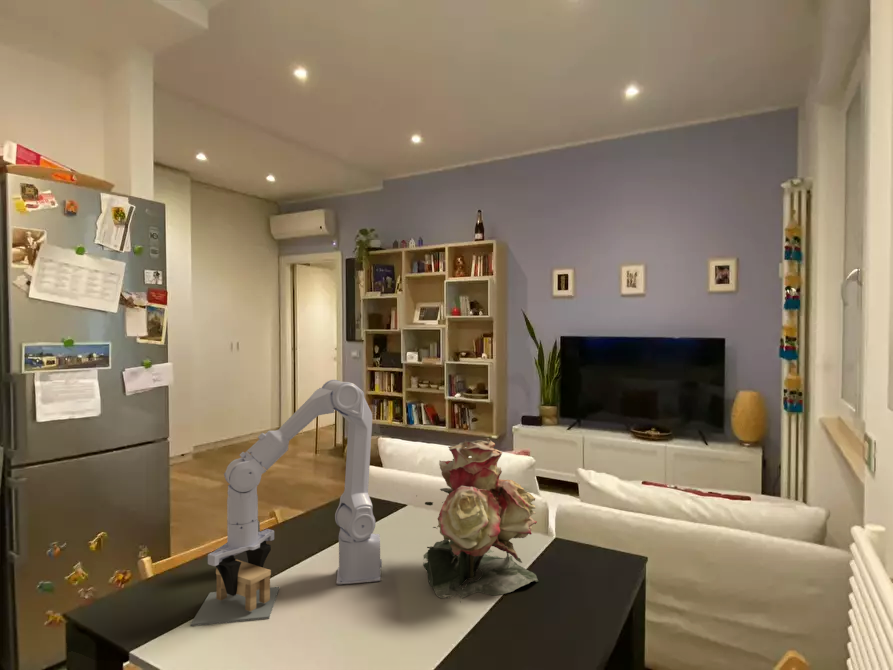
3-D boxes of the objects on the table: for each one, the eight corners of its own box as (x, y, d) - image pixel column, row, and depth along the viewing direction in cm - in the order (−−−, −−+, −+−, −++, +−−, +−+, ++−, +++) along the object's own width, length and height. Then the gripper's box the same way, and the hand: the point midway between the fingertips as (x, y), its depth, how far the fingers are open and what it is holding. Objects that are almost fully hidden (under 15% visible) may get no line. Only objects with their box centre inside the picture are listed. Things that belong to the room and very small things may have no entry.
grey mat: (279, 588, 109) (279, 586, 109) (269, 618, 97) (269, 616, 97) (209, 594, 107) (209, 592, 107) (190, 626, 95) (190, 623, 95)
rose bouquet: (439, 612, 99) (438, 457, 99) (415, 551, 128) (414, 431, 128) (561, 596, 105) (560, 450, 105) (512, 541, 133) (511, 426, 134)
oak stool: (215, 598, 102) (215, 568, 102) (236, 588, 107) (236, 559, 107) (250, 611, 98) (250, 580, 98) (270, 600, 102) (270, 570, 102)
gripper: (225, 535, 94) (225, 609, 94) (284, 511, 107) (285, 576, 107) (200, 529, 97) (200, 600, 97) (260, 506, 110) (261, 569, 110)
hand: (243, 587), depth 102 cm, fingers closed on oak stool, 5 cm apart
